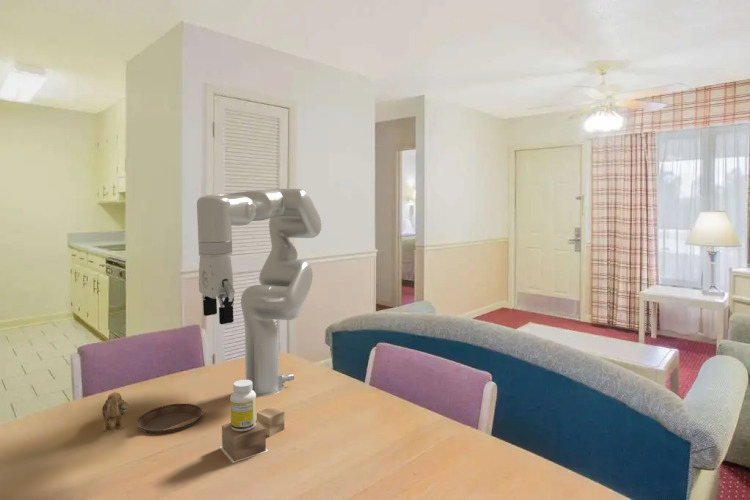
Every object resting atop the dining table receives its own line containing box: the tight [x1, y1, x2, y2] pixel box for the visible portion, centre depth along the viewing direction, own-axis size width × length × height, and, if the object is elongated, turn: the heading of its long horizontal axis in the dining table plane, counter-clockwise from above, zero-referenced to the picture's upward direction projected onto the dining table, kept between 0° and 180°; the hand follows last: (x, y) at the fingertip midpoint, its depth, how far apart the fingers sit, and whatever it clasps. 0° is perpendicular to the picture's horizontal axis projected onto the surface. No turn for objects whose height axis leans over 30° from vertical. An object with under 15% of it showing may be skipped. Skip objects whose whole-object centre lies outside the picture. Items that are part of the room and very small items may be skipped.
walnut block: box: [221, 421, 267, 461], centre depth 100 cm, size 7×7×5 cm
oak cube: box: [256, 405, 285, 437], centre depth 109 cm, size 4×4×4 cm
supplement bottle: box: [229, 379, 257, 431], centre depth 99 cm, size 5×5×10 cm
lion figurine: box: [101, 391, 130, 433], centre depth 113 cm, size 15×5×9 cm, turn 35°
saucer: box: [136, 403, 203, 434], centre depth 113 cm, size 15×15×3 cm
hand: (218, 318), depth 111 cm, fingers open, 9 cm apart
